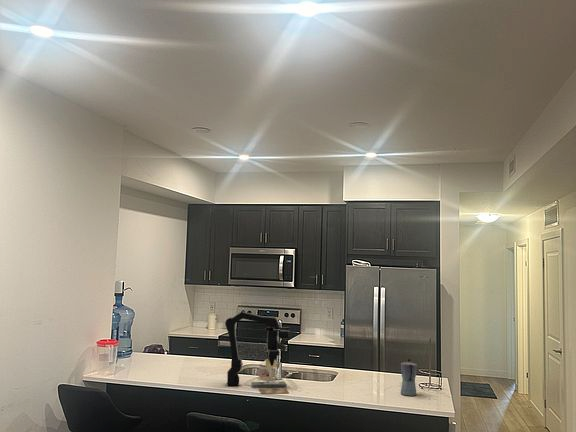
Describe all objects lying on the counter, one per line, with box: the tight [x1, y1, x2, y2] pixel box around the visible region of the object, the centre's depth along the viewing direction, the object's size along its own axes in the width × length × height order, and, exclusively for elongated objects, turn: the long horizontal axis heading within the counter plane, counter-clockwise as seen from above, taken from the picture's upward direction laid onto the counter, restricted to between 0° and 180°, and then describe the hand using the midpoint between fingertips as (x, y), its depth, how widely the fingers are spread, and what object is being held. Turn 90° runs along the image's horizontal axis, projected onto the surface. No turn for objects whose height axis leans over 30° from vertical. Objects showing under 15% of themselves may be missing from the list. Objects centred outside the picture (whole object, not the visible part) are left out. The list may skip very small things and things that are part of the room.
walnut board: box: [258, 387, 290, 395], centre depth 306 cm, size 16×10×1 cm, turn 101°
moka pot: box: [400, 358, 418, 397], centre depth 310 cm, size 10×15×20 cm, turn 2°
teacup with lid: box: [258, 358, 278, 381], centre depth 339 cm, size 12×9×12 cm
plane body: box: [250, 378, 287, 389], centre depth 318 cm, size 20×7×5 cm, turn 101°
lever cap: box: [265, 359, 278, 368], centre depth 319 cm, size 6×5×4 cm
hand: (271, 364), depth 319 cm, fingers closed on lever cap, 5 cm apart
